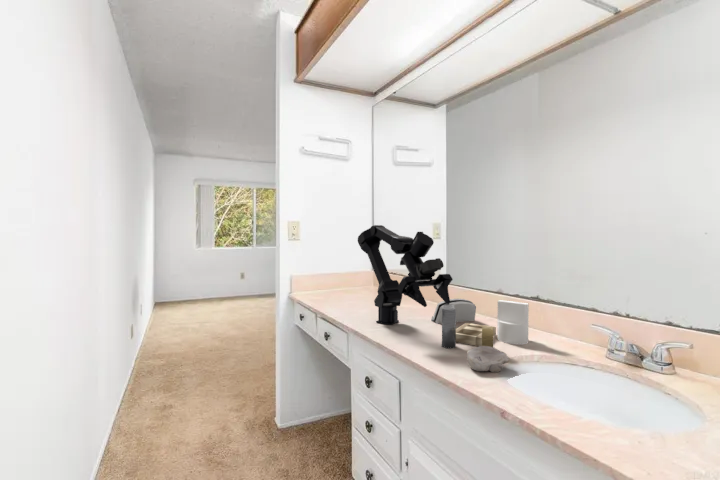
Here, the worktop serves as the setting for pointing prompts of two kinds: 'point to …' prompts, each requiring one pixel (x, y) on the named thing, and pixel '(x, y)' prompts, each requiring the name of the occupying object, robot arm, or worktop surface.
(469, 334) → the block
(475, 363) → the fossil
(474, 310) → the grey curved block
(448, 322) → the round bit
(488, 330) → the square bit
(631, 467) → the worktop surface
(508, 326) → the cylinder with rectangular tab
